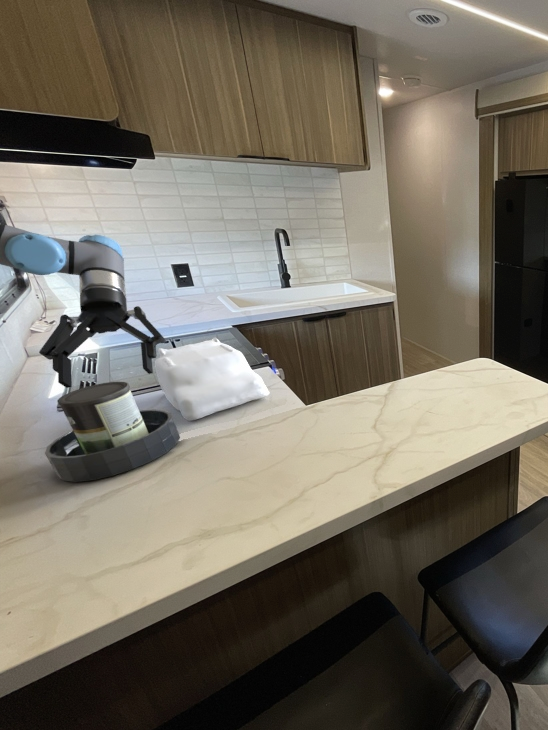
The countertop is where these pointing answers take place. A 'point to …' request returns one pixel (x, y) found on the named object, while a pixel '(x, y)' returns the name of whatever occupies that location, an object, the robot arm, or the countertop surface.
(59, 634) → the countertop surface
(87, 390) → the coffee can
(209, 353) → the white bag
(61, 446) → the shallow grey round dish
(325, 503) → the countertop surface
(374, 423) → the countertop surface
